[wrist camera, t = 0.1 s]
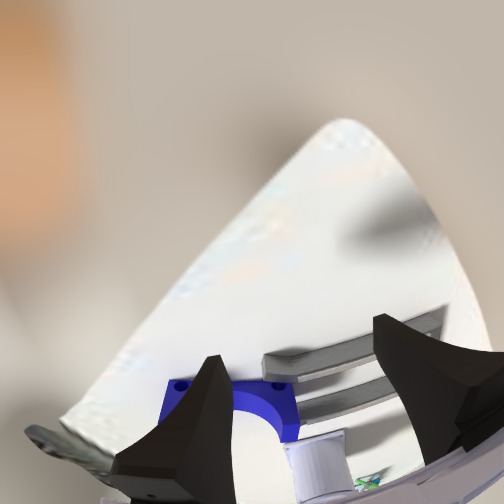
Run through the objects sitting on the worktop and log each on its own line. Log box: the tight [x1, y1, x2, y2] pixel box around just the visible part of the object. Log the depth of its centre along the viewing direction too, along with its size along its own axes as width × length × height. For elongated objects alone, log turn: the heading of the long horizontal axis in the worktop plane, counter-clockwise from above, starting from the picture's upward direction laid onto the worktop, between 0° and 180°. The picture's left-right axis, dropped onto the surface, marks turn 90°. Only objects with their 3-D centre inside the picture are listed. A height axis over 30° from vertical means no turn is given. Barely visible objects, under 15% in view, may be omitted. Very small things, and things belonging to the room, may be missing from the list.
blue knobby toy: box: [355, 478, 380, 493], centre depth 35 cm, size 11×6×10 cm
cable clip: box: [158, 380, 301, 443], centre depth 23 cm, size 12×4×6 cm, turn 91°
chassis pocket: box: [261, 313, 441, 426], centre depth 24 cm, size 10×17×3 cm, turn 103°
